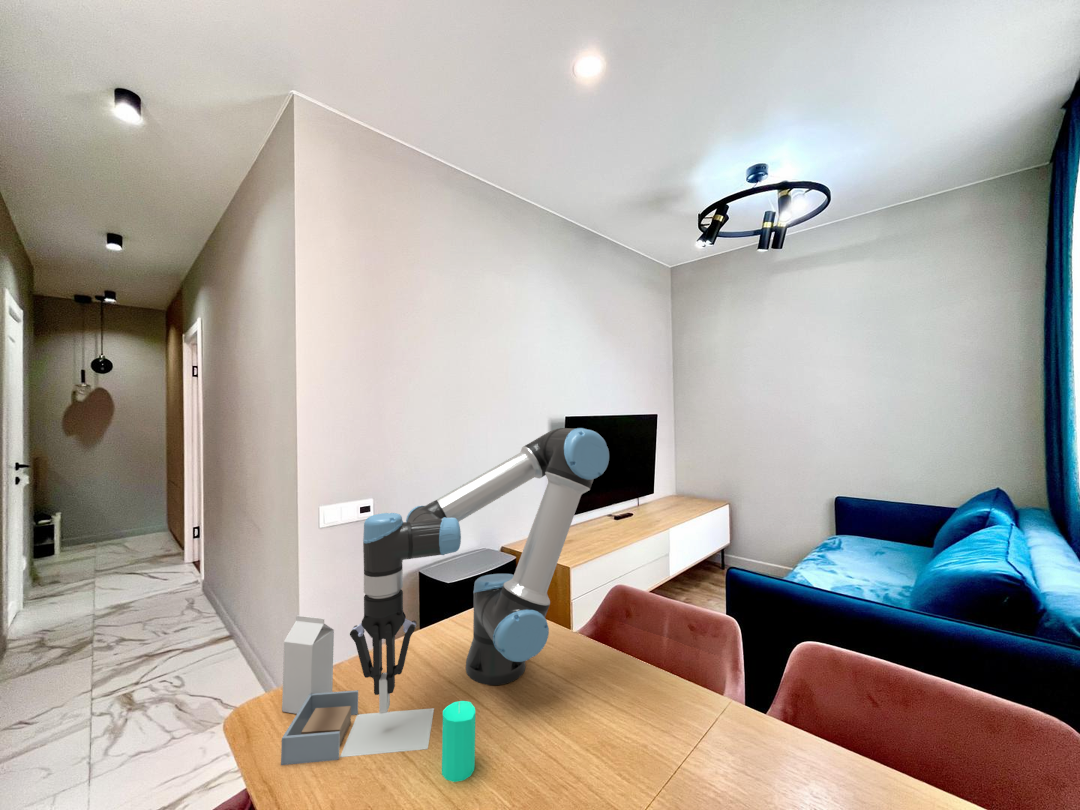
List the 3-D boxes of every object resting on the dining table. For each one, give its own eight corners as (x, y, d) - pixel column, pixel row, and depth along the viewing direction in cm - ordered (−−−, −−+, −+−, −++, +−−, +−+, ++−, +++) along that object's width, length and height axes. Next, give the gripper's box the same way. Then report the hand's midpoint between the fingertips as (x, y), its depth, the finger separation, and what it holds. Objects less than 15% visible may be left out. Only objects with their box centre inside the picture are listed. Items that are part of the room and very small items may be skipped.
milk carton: (310, 716, 93) (312, 626, 94) (281, 712, 94) (284, 622, 95) (332, 696, 100) (334, 611, 101) (305, 692, 101) (307, 609, 102)
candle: (446, 788, 75) (447, 717, 75) (437, 764, 80) (438, 697, 81) (479, 776, 78) (480, 706, 78) (468, 753, 83) (469, 688, 83)
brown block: (350, 725, 91) (351, 706, 91) (339, 750, 84) (339, 729, 84) (315, 728, 90) (315, 708, 90) (300, 753, 83) (301, 732, 83)
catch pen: (357, 714, 94) (358, 690, 94) (338, 761, 81) (338, 733, 81) (308, 718, 92) (309, 693, 93) (280, 766, 79) (281, 738, 80)
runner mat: (434, 709, 95) (434, 708, 95) (427, 750, 84) (427, 748, 84) (357, 715, 93) (357, 714, 93) (339, 758, 81) (339, 757, 81)
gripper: (418, 582, 94) (420, 693, 93) (355, 586, 92) (356, 700, 91) (413, 596, 86) (415, 717, 86) (344, 601, 85) (345, 725, 84)
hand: (384, 708), depth 89 cm, fingers closed
